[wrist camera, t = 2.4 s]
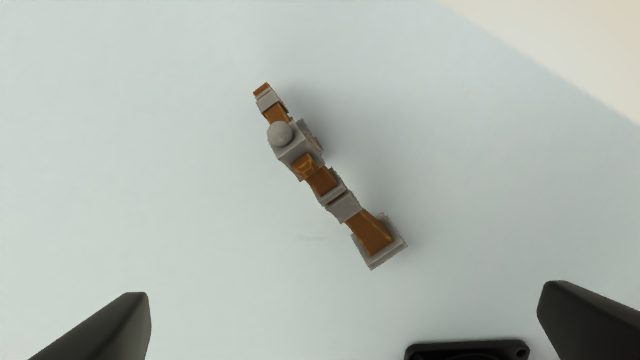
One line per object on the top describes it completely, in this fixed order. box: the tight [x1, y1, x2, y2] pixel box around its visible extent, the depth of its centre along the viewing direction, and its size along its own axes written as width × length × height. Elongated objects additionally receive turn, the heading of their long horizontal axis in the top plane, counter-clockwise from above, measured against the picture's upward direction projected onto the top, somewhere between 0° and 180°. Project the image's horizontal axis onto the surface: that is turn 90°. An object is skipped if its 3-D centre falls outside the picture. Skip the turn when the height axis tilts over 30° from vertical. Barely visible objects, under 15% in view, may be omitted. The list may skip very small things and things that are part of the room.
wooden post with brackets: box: [253, 82, 407, 271], centre depth 14 cm, size 2×8×4 cm, turn 36°
